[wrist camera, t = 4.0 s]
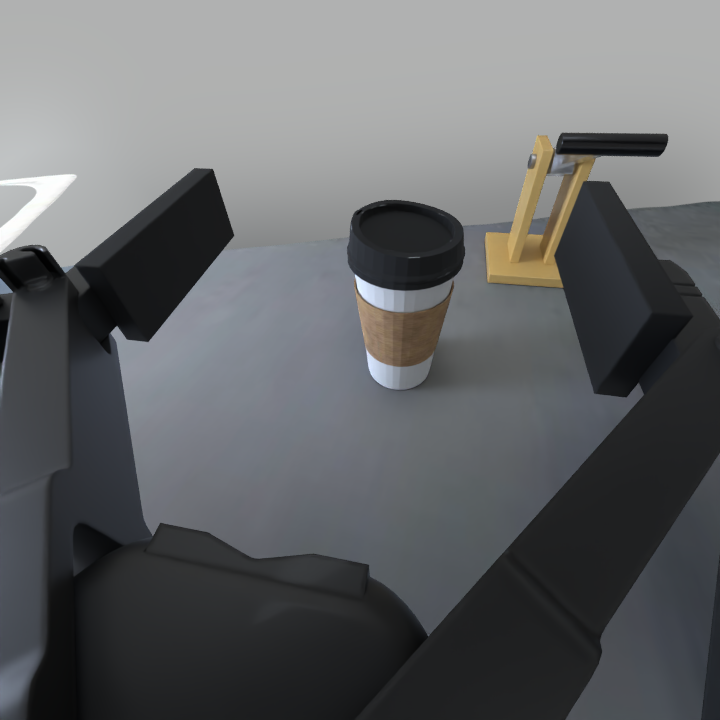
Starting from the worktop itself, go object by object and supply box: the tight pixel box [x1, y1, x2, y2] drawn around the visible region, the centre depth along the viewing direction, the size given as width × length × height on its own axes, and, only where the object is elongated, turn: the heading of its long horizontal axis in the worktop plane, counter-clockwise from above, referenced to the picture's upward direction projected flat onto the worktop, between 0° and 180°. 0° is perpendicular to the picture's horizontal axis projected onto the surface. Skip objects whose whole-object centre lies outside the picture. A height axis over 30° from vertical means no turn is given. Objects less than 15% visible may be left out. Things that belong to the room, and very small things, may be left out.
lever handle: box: [546, 133, 668, 176], centre depth 33 cm, size 14×7×2 cm, turn 169°
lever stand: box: [485, 135, 596, 288], centre depth 42 cm, size 10×10×14 cm
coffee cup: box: [347, 200, 465, 390], centre depth 31 cm, size 8×8×15 cm
